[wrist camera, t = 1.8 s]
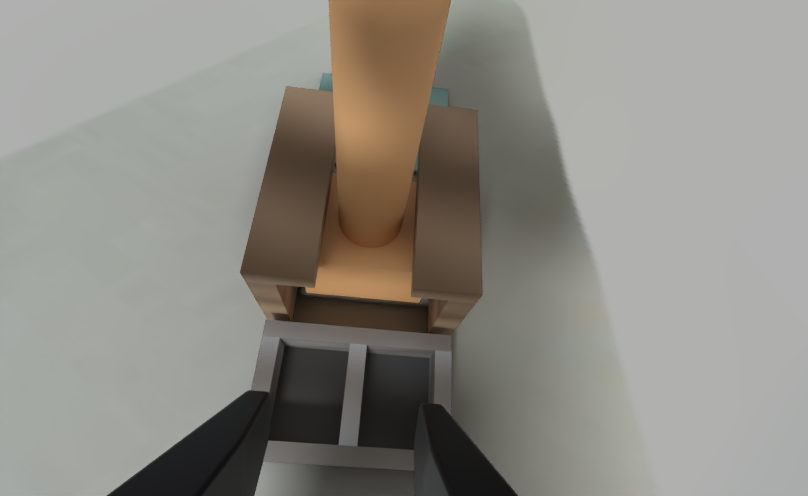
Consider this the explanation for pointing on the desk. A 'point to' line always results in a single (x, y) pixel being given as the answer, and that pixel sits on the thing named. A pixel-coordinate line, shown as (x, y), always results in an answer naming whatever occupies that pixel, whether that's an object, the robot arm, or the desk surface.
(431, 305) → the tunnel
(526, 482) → the desk surface
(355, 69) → the slider
